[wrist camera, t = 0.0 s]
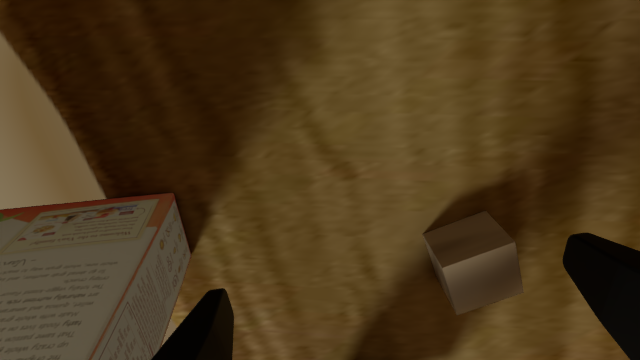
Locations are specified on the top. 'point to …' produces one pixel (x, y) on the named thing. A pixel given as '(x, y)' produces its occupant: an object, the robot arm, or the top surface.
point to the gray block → (474, 262)
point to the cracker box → (90, 278)
